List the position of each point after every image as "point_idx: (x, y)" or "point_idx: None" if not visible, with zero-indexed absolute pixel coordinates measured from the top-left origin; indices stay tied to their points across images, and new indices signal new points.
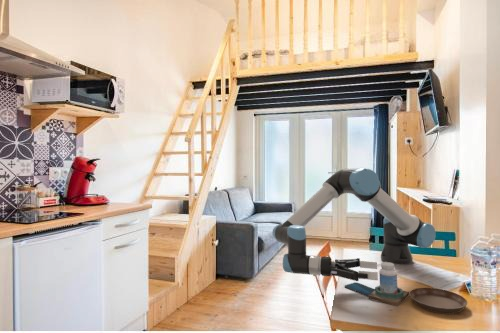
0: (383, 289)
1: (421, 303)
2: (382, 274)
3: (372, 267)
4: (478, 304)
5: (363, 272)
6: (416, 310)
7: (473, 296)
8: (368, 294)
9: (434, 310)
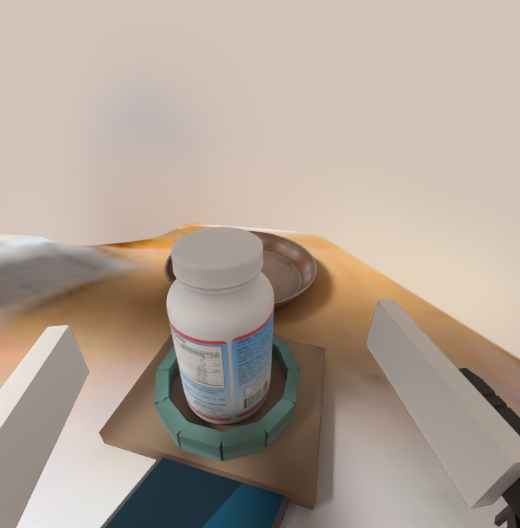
0: (265, 384)
1: (309, 285)
2: (265, 320)
3: (66, 402)
4: None
5: (478, 402)
6: (318, 312)
7: (163, 236)
8: (263, 514)
9: (306, 278)
